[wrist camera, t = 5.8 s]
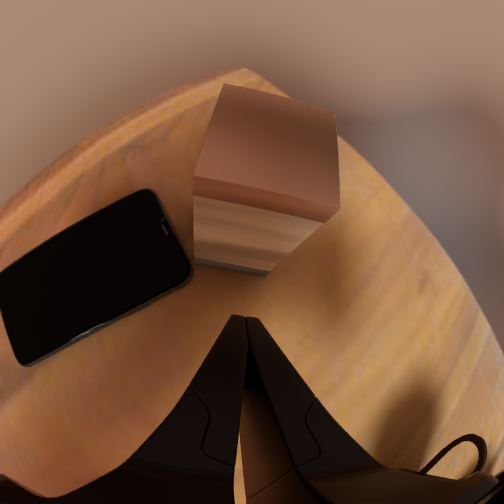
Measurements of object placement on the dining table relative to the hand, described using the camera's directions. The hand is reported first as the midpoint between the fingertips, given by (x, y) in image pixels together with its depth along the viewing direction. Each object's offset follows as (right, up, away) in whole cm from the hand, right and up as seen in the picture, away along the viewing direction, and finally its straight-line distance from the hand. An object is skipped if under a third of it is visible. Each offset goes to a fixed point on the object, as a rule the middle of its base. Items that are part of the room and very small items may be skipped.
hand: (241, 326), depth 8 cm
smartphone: (-11, 0, +7) cm, 13 cm away
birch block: (-1, +3, +10) cm, 10 cm away
